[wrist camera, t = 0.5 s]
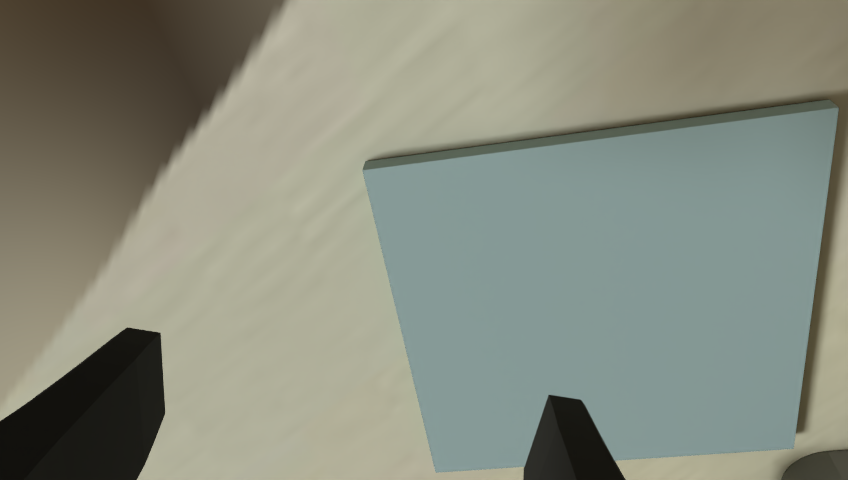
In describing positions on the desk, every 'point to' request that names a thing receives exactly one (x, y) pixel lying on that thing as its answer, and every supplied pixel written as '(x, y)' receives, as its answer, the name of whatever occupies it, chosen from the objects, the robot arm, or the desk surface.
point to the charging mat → (611, 282)
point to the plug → (820, 467)
